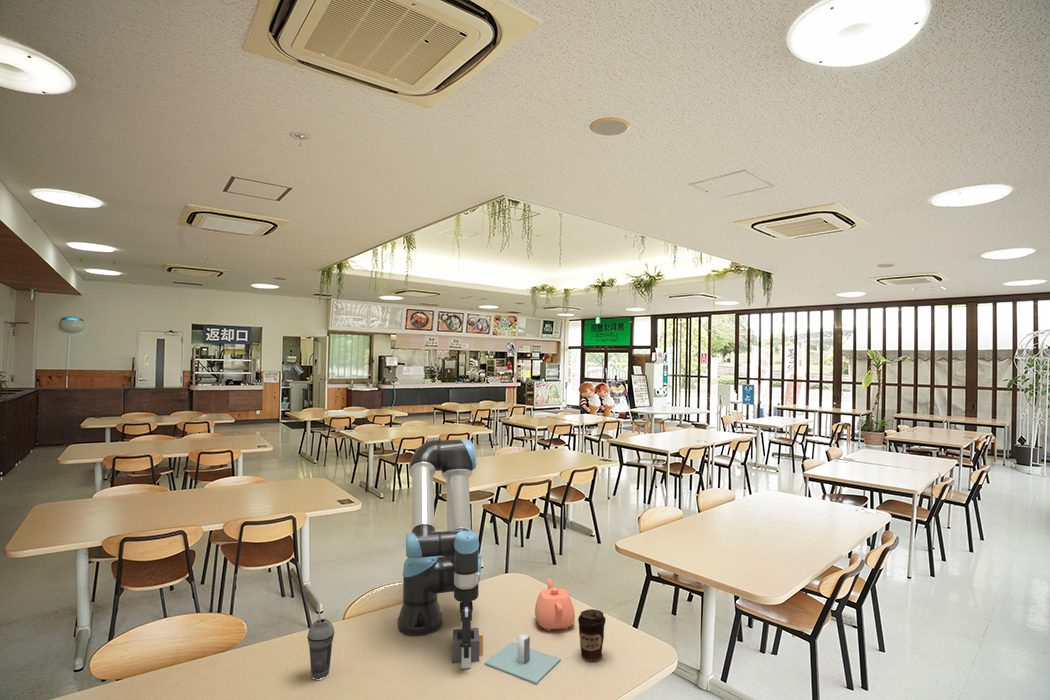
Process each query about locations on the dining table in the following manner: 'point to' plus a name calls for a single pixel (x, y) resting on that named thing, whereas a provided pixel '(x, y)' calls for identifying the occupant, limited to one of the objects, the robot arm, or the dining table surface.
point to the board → (522, 669)
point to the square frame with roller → (475, 645)
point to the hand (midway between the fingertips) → (465, 655)
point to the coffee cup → (591, 634)
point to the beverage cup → (320, 646)
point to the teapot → (554, 608)
